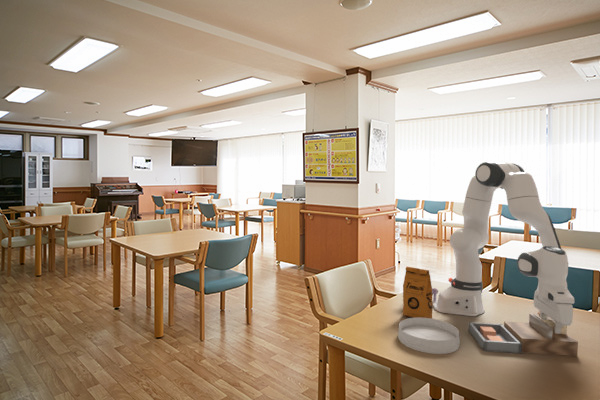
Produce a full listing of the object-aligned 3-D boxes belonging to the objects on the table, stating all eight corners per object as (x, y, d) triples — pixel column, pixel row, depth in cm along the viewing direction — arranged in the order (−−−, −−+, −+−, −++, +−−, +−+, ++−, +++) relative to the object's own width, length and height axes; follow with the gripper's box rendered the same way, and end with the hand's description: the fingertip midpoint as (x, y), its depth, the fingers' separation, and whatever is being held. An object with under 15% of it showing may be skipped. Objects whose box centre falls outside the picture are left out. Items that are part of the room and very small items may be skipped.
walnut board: (521, 352, 131) (522, 338, 131) (503, 333, 147) (504, 321, 147) (577, 356, 129) (578, 342, 128) (553, 336, 144) (553, 324, 144)
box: (483, 350, 132) (483, 341, 132) (468, 330, 150) (468, 322, 150) (521, 353, 130) (521, 343, 130) (501, 332, 148) (501, 324, 148)
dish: (429, 359, 126) (429, 345, 126) (385, 335, 145) (386, 323, 145) (473, 346, 136) (473, 333, 136) (427, 325, 156) (427, 313, 155)
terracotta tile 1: (503, 341, 133) (503, 348, 133) (499, 336, 137) (499, 342, 138) (490, 340, 134) (490, 347, 134) (486, 335, 138) (486, 341, 138)
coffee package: (425, 324, 157) (426, 272, 155) (399, 316, 165) (400, 267, 164) (436, 318, 163) (437, 268, 162) (410, 310, 172) (411, 264, 171)
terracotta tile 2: (496, 331, 142) (496, 338, 142) (491, 327, 146) (491, 333, 146) (483, 331, 142) (483, 337, 142) (479, 326, 147) (479, 332, 147)
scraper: (547, 338, 131) (547, 327, 130) (529, 323, 145) (529, 313, 144) (575, 340, 129) (575, 329, 129) (554, 325, 143) (554, 315, 143)
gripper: (529, 283, 147) (528, 317, 148) (557, 299, 127) (555, 339, 127) (546, 283, 146) (545, 318, 147) (577, 300, 126) (575, 340, 126)
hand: (550, 328), depth 137 cm, fingers open, 7 cm apart
